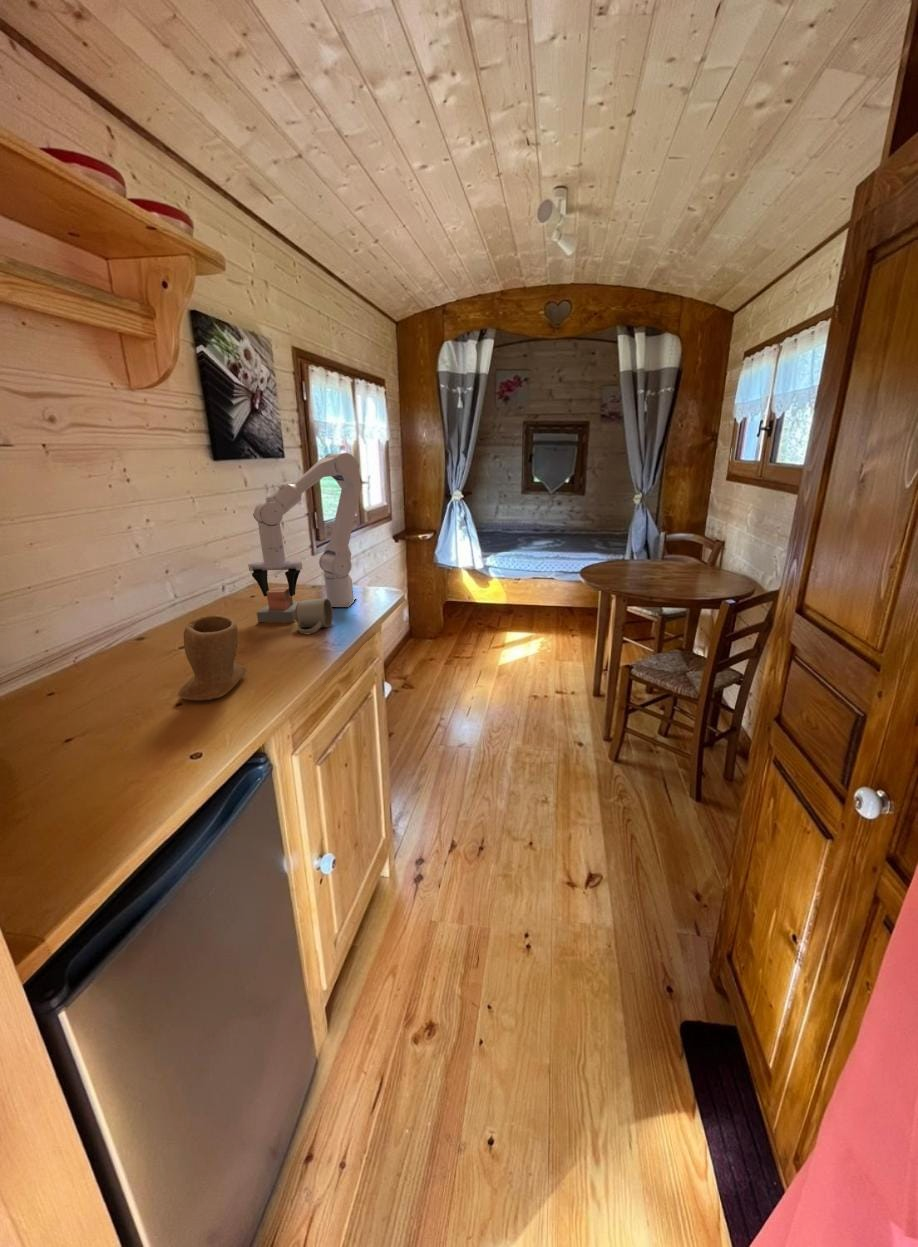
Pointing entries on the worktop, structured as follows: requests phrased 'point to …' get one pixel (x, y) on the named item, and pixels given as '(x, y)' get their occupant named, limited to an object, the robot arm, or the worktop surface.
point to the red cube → (279, 598)
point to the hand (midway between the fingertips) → (279, 595)
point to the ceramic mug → (314, 614)
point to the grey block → (277, 614)
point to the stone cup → (211, 657)
